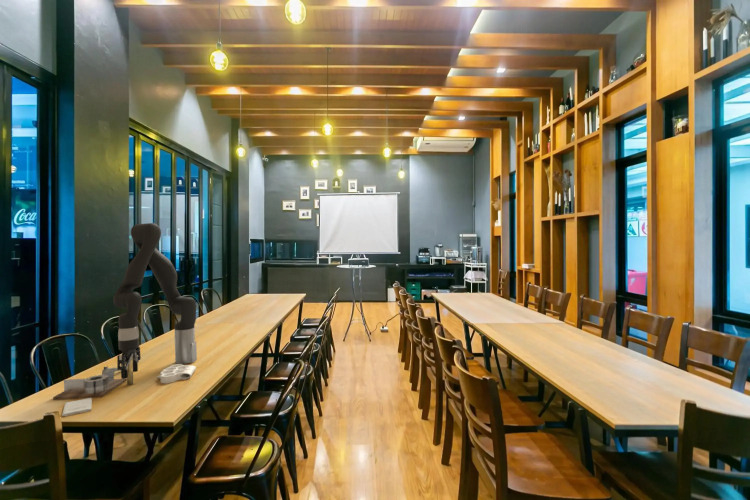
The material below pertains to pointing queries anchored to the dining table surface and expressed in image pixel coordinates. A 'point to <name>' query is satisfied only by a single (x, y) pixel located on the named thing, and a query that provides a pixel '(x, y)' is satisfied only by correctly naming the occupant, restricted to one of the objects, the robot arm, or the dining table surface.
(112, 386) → the hinge board
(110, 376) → the hinge
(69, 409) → the external hard drive
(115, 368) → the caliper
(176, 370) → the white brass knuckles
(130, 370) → the hinge pin
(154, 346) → the dining table surface
